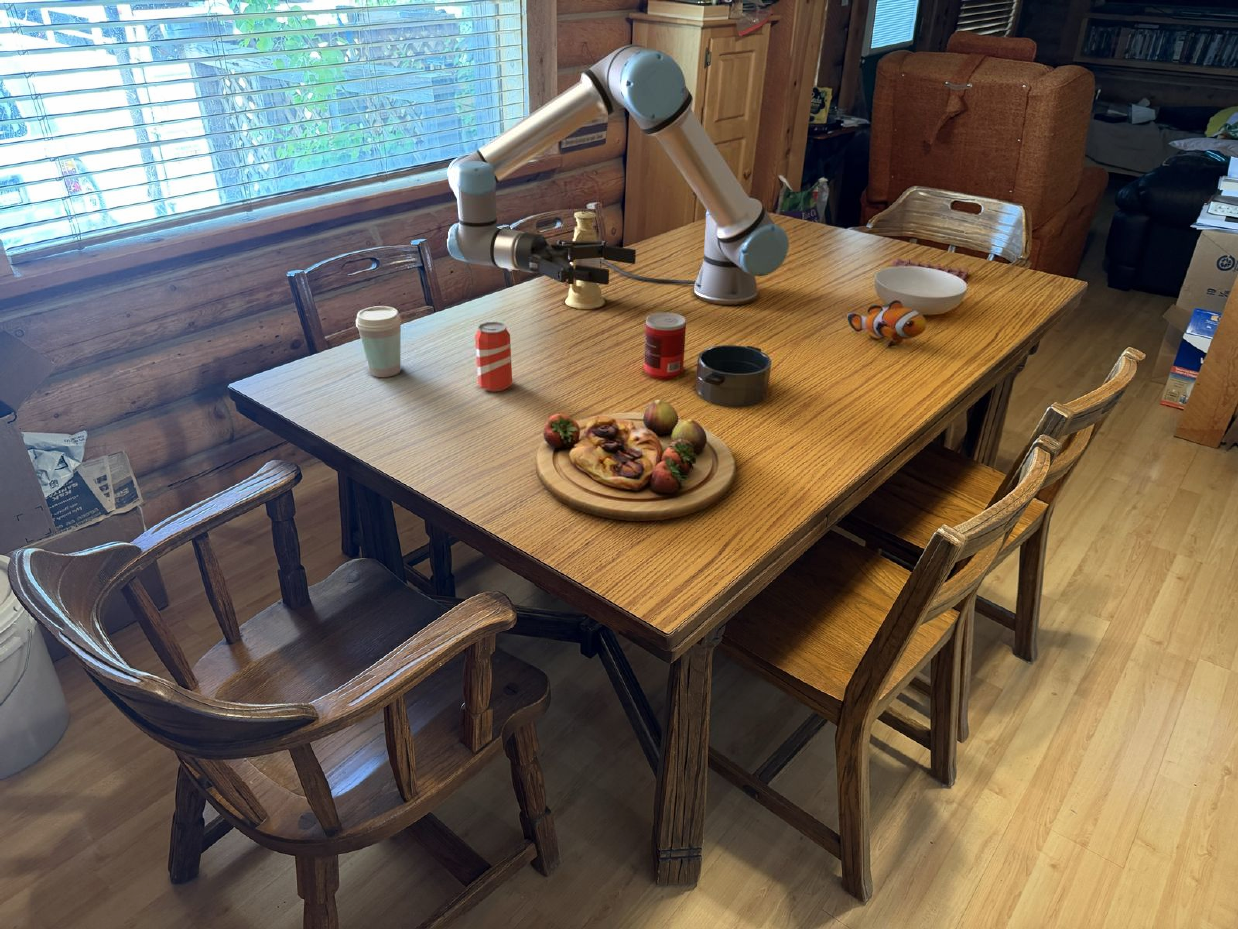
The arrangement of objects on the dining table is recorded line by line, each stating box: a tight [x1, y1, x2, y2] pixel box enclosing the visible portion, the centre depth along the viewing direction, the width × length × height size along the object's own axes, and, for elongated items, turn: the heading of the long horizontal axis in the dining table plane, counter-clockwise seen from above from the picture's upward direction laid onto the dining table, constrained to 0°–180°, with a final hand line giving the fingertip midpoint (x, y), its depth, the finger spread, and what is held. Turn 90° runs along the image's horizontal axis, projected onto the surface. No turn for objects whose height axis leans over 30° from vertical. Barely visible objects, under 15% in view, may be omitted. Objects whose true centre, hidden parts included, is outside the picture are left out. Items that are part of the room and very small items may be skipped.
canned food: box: [643, 311, 687, 380], centre depth 171 cm, size 8×8×11 cm
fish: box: [846, 300, 927, 349], centre depth 186 cm, size 10×18×10 cm, turn 44°
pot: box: [695, 344, 773, 408], centre depth 165 cm, size 14×14×6 cm
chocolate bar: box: [890, 257, 970, 281], centre depth 229 cm, size 7×19×2 cm, turn 61°
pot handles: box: [705, 345, 762, 386], centre depth 164 cm, size 3×18×1 cm, turn 147°
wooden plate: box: [535, 399, 737, 522], centre depth 139 cm, size 32×32×8 cm
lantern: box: [564, 170, 606, 310], centre depth 198 cm, size 12×10×30 cm
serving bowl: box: [873, 266, 969, 316], centre depth 205 cm, size 21×21×7 cm
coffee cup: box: [355, 305, 403, 378], centre depth 168 cm, size 8×8×12 cm
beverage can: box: [474, 321, 513, 393], centre depth 163 cm, size 6×6×12 cm
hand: (622, 266), depth 166 cm, fingers open, 13 cm apart
